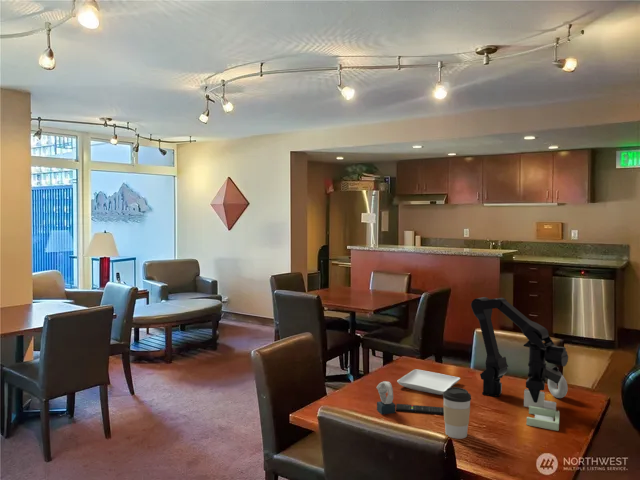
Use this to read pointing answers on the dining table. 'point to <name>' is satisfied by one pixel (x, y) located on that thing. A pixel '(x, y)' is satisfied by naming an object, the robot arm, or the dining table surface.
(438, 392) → the salad plate
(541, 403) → the scraper
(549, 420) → the tile
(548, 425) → the green c-shaped block
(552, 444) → the dining table surface
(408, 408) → the remote control
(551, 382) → the donut
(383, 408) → the abstract loop sculpture
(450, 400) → the coffee cup
